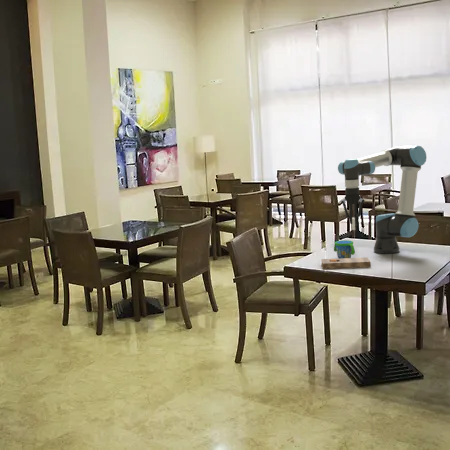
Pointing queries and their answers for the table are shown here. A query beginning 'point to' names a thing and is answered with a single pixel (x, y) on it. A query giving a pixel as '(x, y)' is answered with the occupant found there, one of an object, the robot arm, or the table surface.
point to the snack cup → (344, 249)
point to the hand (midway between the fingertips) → (353, 229)
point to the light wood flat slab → (346, 263)
